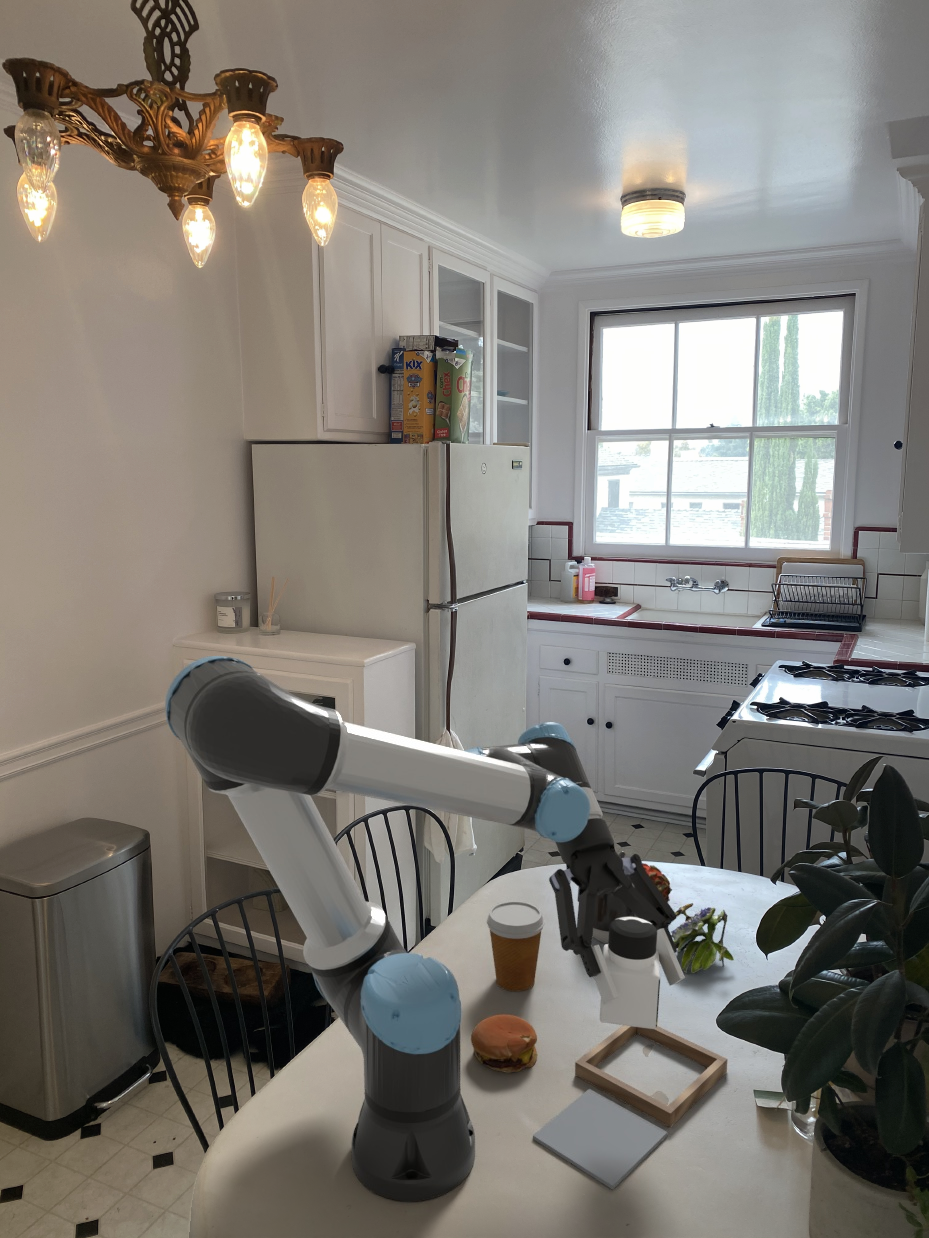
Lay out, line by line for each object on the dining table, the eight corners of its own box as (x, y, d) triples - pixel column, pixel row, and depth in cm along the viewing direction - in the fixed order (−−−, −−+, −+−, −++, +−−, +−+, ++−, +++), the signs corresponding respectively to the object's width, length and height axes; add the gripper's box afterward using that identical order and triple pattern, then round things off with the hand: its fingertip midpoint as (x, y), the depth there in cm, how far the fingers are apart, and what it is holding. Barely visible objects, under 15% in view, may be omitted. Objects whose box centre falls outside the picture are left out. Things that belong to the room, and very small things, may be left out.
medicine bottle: (657, 1030, 113) (662, 940, 111) (599, 1023, 114) (604, 933, 112) (655, 999, 120) (661, 914, 118) (601, 992, 121) (605, 908, 119)
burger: (481, 1030, 136) (481, 1002, 135) (542, 1040, 133) (543, 1012, 133) (464, 1072, 127) (463, 1041, 126) (529, 1084, 124) (529, 1053, 123)
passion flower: (681, 979, 159) (686, 910, 164) (743, 987, 153) (746, 914, 158) (656, 968, 151) (662, 895, 156) (720, 975, 145) (724, 899, 150)
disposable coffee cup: (515, 1004, 142) (515, 933, 141) (474, 979, 149) (474, 911, 148) (556, 982, 149) (557, 913, 147) (515, 959, 156) (515, 894, 154)
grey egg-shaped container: (648, 931, 165) (650, 852, 163) (626, 956, 156) (627, 873, 154) (596, 917, 170) (597, 840, 168) (572, 941, 162) (573, 860, 160)
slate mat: (612, 1189, 105) (612, 1185, 105) (532, 1138, 113) (532, 1135, 113) (667, 1135, 114) (667, 1132, 114) (589, 1091, 122) (589, 1088, 122)
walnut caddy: (670, 1127, 115) (670, 1113, 115) (575, 1075, 125) (575, 1061, 125) (726, 1071, 126) (727, 1058, 126) (635, 1027, 136) (635, 1015, 136)
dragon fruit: (672, 922, 171) (617, 912, 179) (686, 884, 176) (633, 876, 184) (654, 896, 167) (600, 887, 175) (670, 858, 172) (616, 851, 180)
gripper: (630, 827, 133) (697, 980, 121) (498, 852, 123) (558, 1021, 111) (656, 804, 128) (728, 962, 116) (520, 828, 117) (585, 1003, 106)
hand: (645, 991), depth 114 cm, fingers closed on medicine bottle, 10 cm apart
